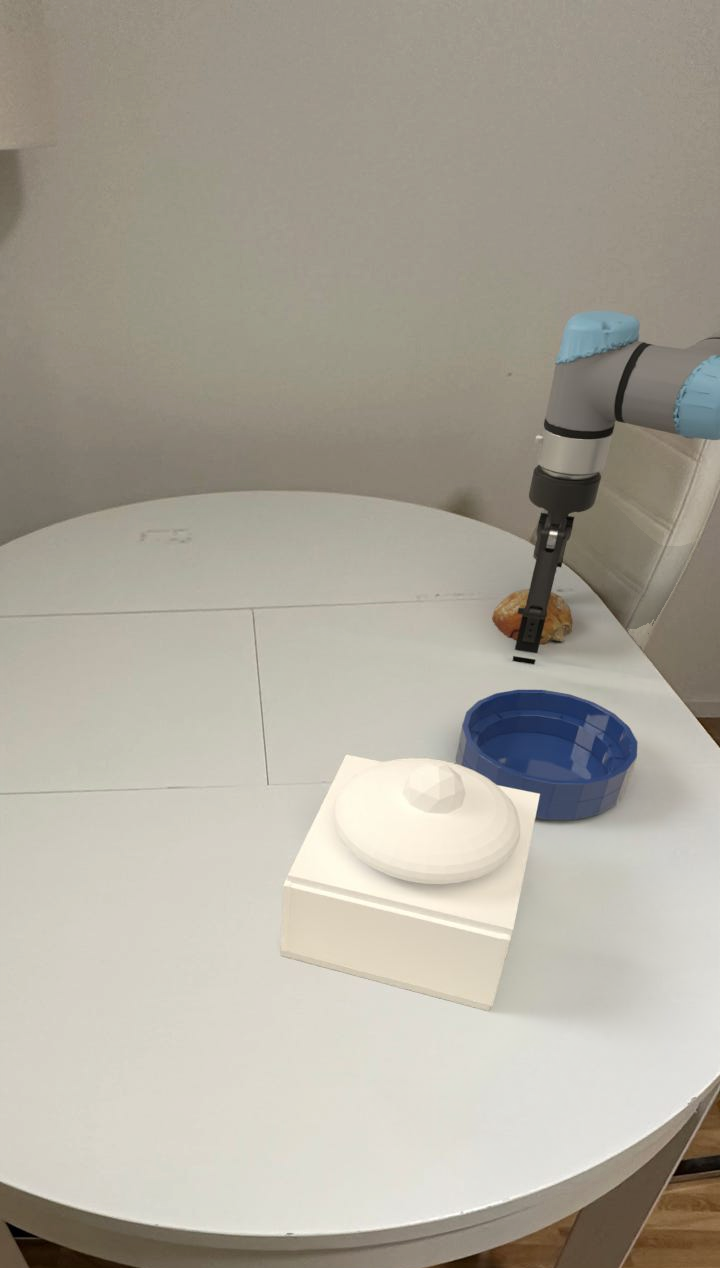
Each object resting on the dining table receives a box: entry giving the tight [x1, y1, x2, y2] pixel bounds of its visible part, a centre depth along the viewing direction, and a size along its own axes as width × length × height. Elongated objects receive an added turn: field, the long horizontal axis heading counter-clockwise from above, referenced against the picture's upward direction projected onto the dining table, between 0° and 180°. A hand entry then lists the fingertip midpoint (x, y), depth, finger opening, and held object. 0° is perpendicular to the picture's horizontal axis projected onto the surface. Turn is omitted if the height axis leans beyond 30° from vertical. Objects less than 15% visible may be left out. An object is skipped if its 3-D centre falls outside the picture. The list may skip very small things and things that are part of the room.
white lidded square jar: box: [280, 754, 540, 1012], centre depth 76 cm, size 18×18×16 cm
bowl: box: [455, 689, 639, 821], centre depth 95 cm, size 17×17×5 cm
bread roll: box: [491, 588, 573, 645], centre depth 117 cm, size 10×10×8 cm
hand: (529, 637), depth 119 cm, fingers open, 13 cm apart
